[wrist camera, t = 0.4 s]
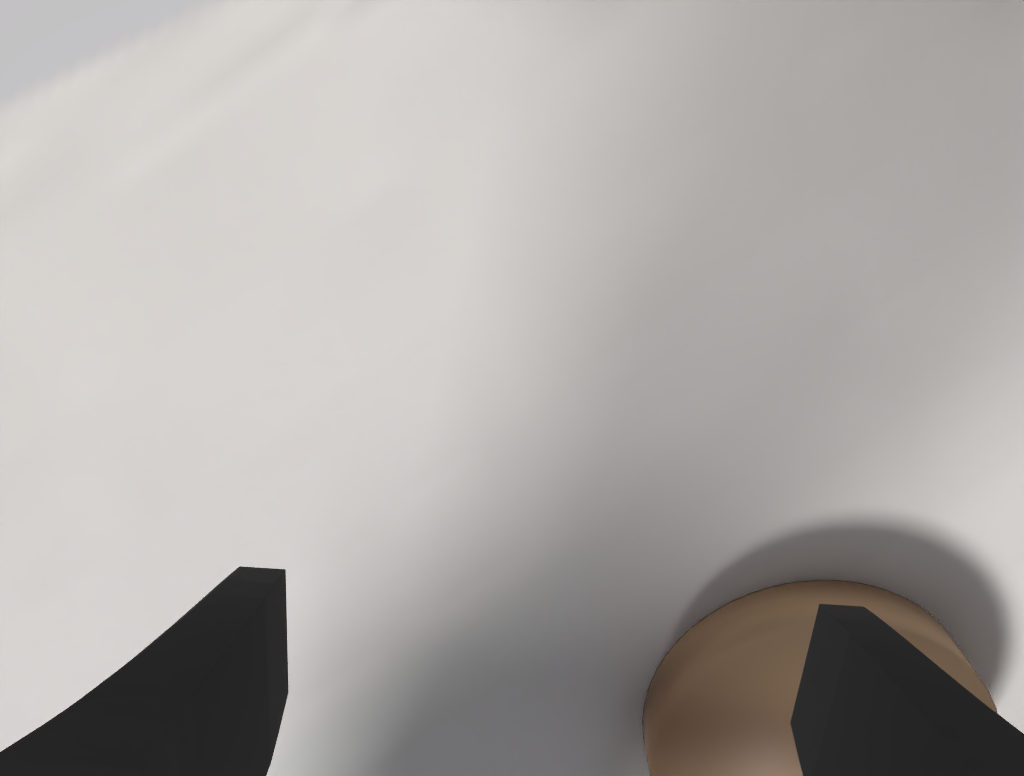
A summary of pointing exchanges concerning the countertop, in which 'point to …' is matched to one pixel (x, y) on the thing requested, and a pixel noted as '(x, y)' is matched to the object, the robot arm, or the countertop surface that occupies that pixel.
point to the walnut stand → (764, 678)
